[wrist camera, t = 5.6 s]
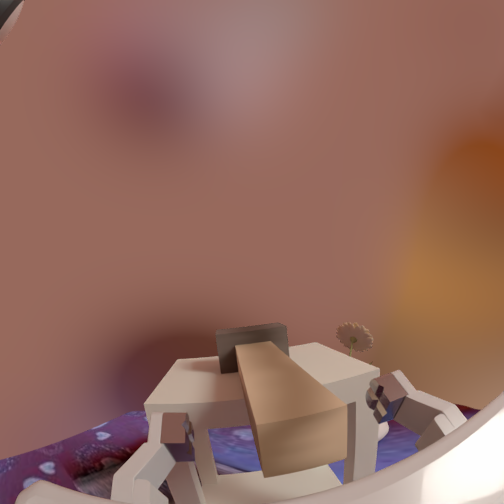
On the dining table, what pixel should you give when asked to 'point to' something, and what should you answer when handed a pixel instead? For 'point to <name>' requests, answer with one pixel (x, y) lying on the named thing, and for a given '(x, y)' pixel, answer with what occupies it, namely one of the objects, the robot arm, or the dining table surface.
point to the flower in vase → (359, 341)
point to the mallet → (283, 401)
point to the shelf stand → (235, 414)
